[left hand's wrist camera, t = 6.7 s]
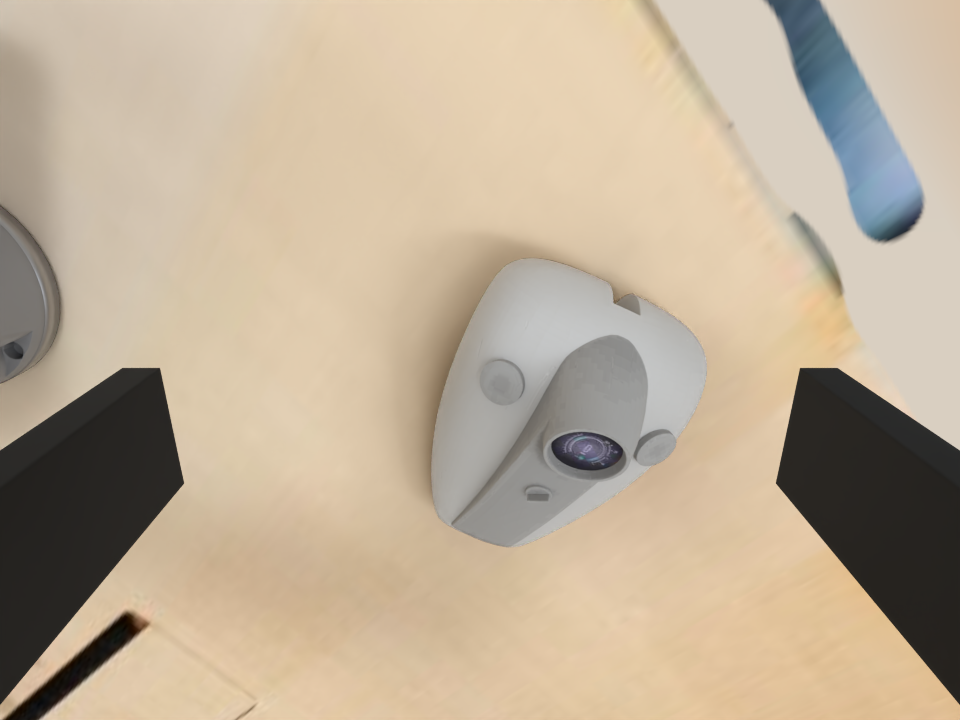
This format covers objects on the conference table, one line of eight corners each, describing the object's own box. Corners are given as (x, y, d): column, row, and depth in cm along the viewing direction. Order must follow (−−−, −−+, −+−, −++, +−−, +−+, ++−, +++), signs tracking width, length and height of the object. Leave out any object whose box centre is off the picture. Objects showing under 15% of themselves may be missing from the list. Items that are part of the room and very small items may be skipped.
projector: (345, 319, 45) (286, 404, 31) (639, 195, 41) (717, 229, 28) (464, 543, 52) (458, 691, 38) (721, 453, 49) (815, 579, 35)
